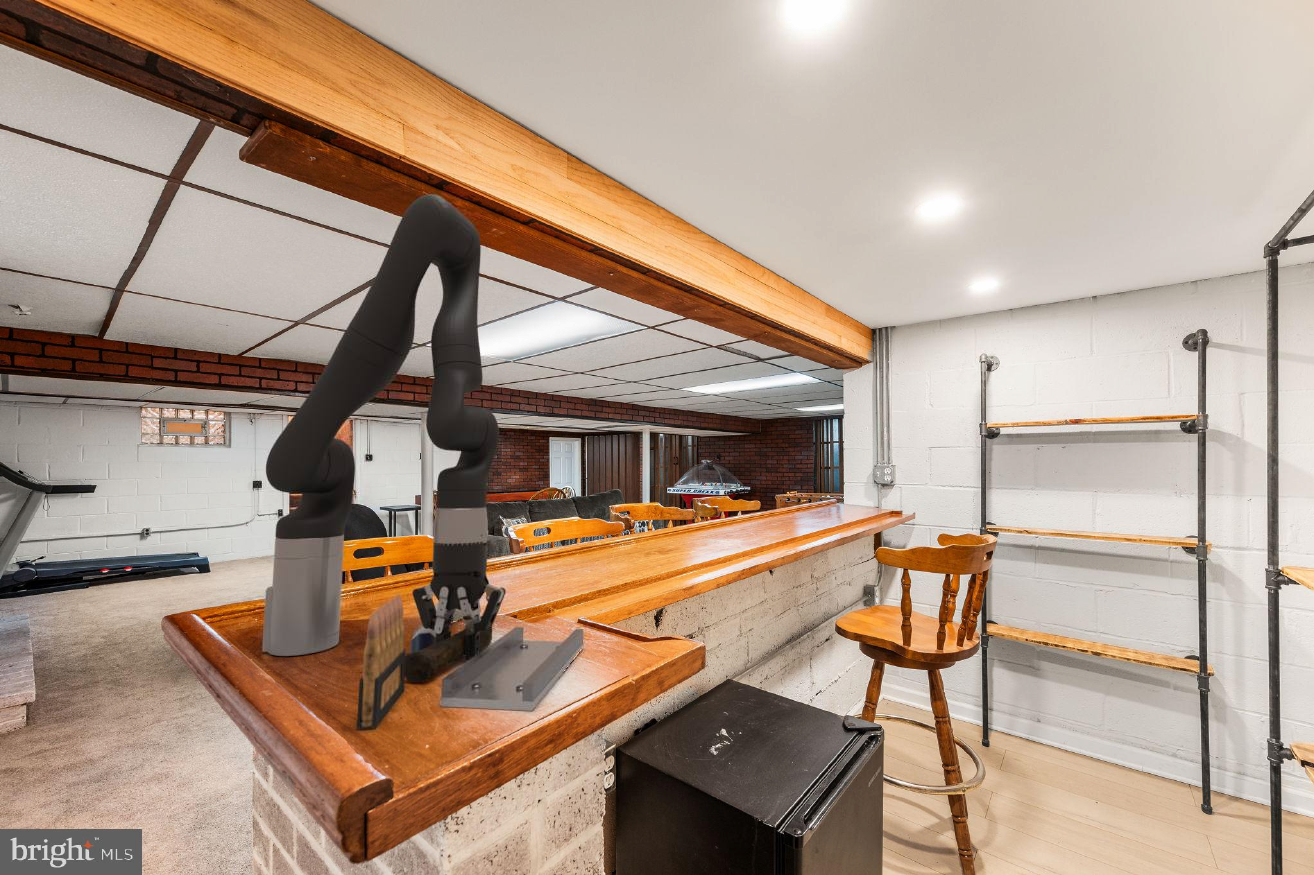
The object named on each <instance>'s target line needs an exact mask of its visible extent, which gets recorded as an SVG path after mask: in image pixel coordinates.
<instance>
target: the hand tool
mask: <svg viewBox="0 0 1314 875" xmlns="http://www.w3.org/2000/svg"><path fill="white" fill-rule="evenodd" d="M480 617H481V618H482V616H480ZM466 634H468V633H467V630H466V624H464V629H463V630H460V631H459V632H456V633H454V634H452V635H451V636H450V637H448V638H446V639H444V640H442V641H440V642H438V643H434V644H433V645H431V646H429V647H427V648H424V649H422V650H420V651H418V652H412V653H410V652H408V653H406V654H405V679H406V681H407V682H409V683H415V684H416V683H422V682H426V681H427V680H429V679H430V677H431V678H432V677H435V675H436V672H439V671H440V670H441V669H443V668H444V667H447V666H448V665H450V664H452V663H454V662H455V661H458V659H459V660H460V658H463V657H465V635H466ZM492 640H493V625H492V626H490V627H488V628H487V629H485V630H483V631H480V646H479V647H480V650H479V653H480V652H481V651H483V650H484V649H486V648H487V647H488V646H489V645H490V643H491V642H492Z"/></svg>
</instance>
